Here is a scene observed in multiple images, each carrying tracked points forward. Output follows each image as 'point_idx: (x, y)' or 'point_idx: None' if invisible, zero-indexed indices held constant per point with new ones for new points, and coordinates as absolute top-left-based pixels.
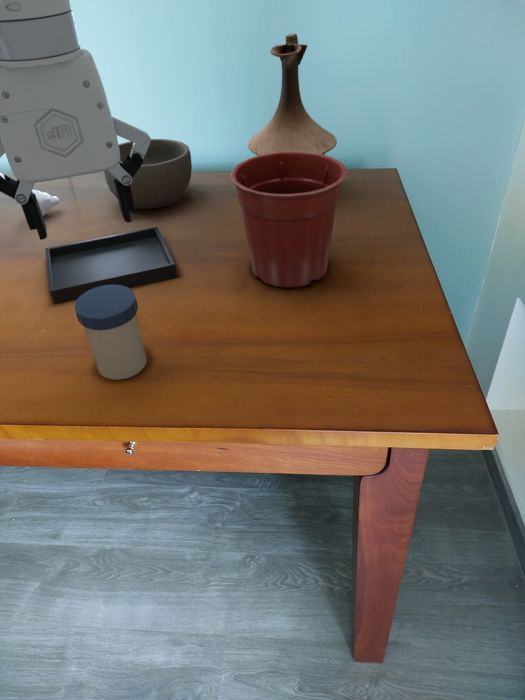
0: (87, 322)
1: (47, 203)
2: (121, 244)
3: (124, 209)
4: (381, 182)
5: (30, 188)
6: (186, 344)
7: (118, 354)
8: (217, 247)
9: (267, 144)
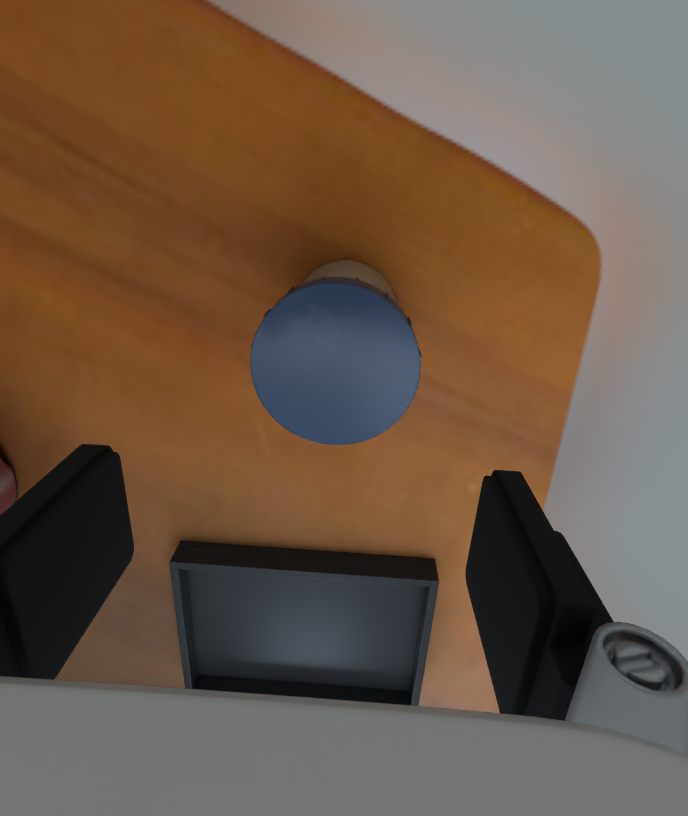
0: (399, 310)
1: None
2: (270, 676)
3: (67, 478)
4: None
5: (583, 713)
6: (201, 315)
7: (347, 270)
8: None
9: None
